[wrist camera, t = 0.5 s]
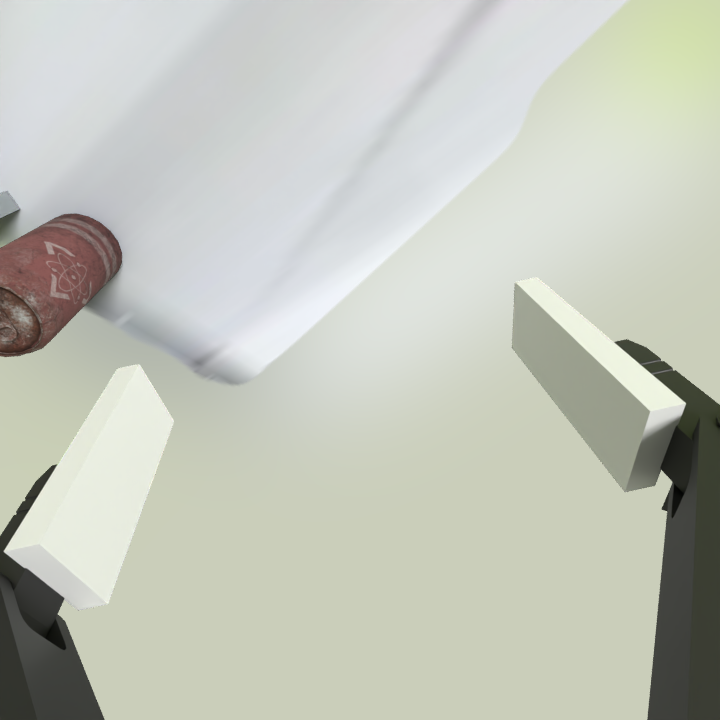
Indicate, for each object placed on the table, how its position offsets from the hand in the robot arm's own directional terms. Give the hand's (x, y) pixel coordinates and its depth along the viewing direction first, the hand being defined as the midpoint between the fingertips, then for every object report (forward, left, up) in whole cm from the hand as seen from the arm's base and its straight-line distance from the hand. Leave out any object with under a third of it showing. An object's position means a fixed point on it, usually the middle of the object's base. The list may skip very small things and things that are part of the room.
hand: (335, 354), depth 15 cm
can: (-1, -21, -27) cm, 34 cm away
